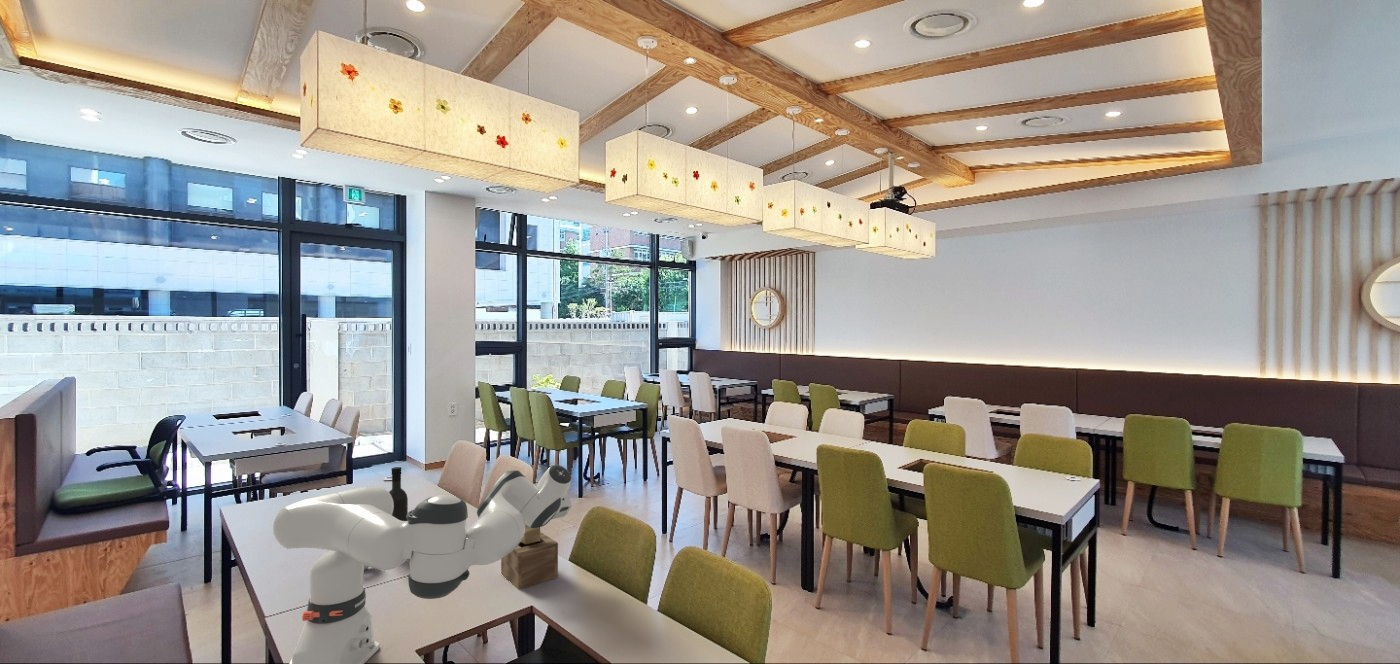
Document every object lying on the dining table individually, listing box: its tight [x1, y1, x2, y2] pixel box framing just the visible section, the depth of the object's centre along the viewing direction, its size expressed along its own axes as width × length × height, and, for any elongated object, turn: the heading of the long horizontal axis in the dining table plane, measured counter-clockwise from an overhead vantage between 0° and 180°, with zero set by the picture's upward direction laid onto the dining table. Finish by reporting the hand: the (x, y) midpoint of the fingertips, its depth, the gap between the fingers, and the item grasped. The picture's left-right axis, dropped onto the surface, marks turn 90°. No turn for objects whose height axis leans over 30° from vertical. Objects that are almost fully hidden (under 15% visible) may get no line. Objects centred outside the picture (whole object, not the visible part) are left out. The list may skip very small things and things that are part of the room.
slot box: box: [500, 531, 559, 590], centre depth 190 cm, size 13×13×11 cm
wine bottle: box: [388, 466, 409, 521], centre depth 206 cm, size 6×6×30 cm
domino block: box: [521, 525, 541, 544], centre depth 190 cm, size 3×5×8 cm, turn 130°
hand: (529, 526), depth 190 cm, fingers closed on domino block, 5 cm apart
